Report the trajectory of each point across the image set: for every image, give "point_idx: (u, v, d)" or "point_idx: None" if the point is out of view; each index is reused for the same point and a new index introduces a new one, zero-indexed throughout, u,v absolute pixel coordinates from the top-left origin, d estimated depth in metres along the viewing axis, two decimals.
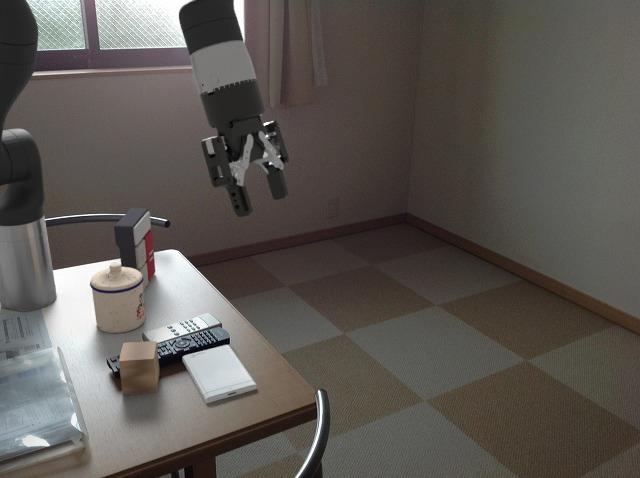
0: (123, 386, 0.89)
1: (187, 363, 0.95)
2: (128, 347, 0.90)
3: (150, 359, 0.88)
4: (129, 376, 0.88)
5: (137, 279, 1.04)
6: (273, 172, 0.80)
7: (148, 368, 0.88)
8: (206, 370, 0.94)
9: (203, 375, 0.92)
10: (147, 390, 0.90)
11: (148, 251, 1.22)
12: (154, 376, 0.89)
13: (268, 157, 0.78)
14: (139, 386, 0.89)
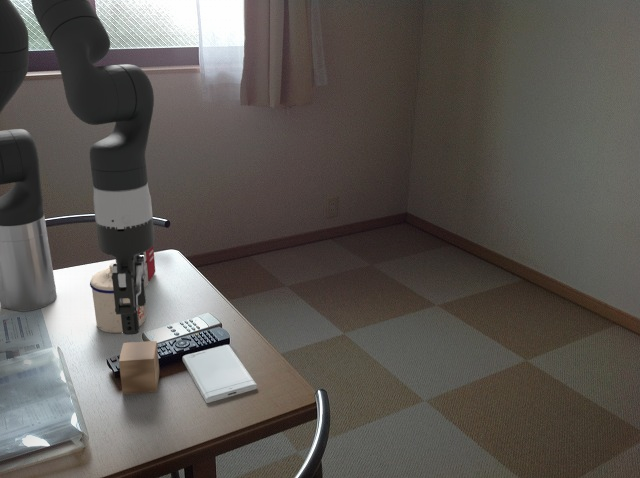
0: (123, 386, 0.89)
1: (187, 363, 0.96)
2: (128, 347, 0.90)
3: (150, 359, 0.88)
4: (129, 376, 0.88)
5: None
6: None
7: (148, 368, 0.88)
8: (207, 370, 0.94)
9: (203, 374, 0.93)
10: (147, 390, 0.90)
11: (148, 251, 1.22)
12: (154, 376, 0.89)
13: None
14: (139, 386, 0.89)
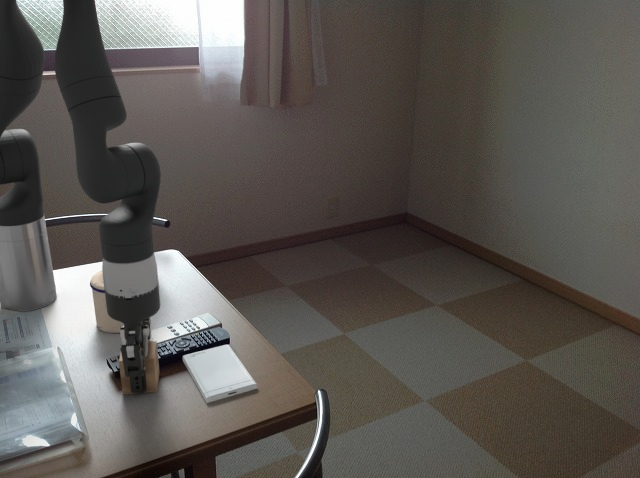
0: (123, 386, 0.89)
1: (187, 363, 0.96)
2: None
3: (150, 359, 0.88)
4: (129, 376, 0.88)
5: None
6: None
7: (148, 368, 0.88)
8: (207, 370, 0.94)
9: (203, 374, 0.93)
10: (147, 390, 0.90)
11: None
12: (154, 376, 0.89)
13: None
14: None
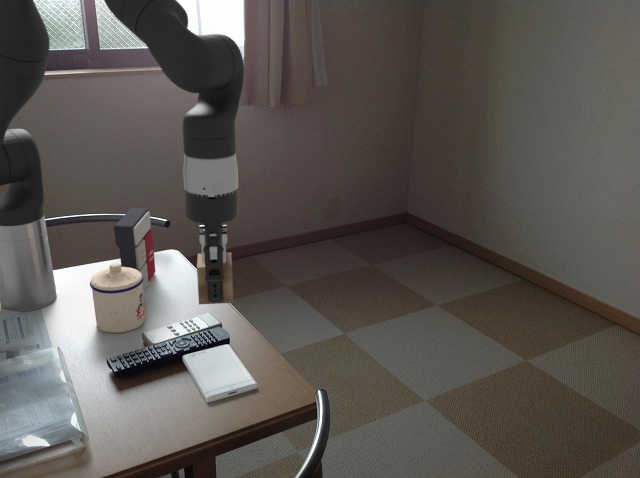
0: (200, 295, 0.86)
1: (187, 362, 0.96)
2: None
3: (229, 266, 0.85)
4: (206, 285, 0.86)
5: (137, 279, 1.04)
6: None
7: (226, 276, 0.86)
8: (207, 369, 0.94)
9: (203, 374, 0.93)
10: (223, 301, 0.87)
11: (148, 251, 1.22)
12: (231, 285, 0.86)
13: None
14: None
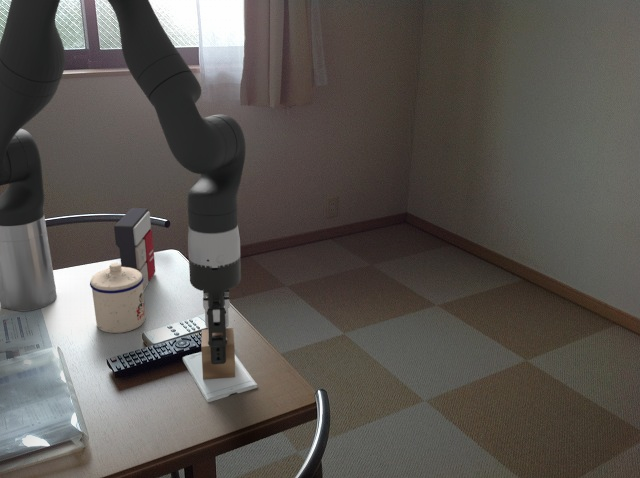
0: (204, 371, 0.91)
1: (187, 364, 0.96)
2: (207, 333, 0.93)
3: (231, 345, 0.90)
4: (210, 362, 0.91)
5: (137, 279, 1.04)
6: None
7: (228, 354, 0.91)
8: None
9: None
10: (226, 376, 0.92)
11: (148, 251, 1.22)
12: (233, 362, 0.92)
13: None
14: (219, 371, 0.92)
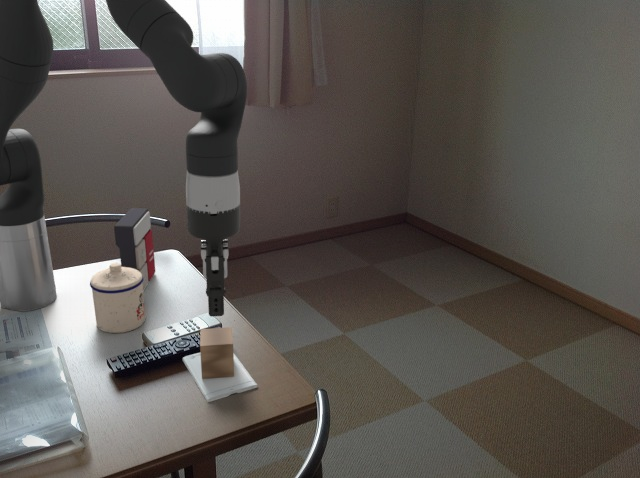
0: (203, 370, 0.91)
1: (187, 364, 0.96)
2: (206, 333, 0.93)
3: (230, 344, 0.91)
4: (209, 361, 0.91)
5: (137, 279, 1.04)
6: None
7: (227, 353, 0.91)
8: None
9: None
10: (225, 375, 0.92)
11: (148, 251, 1.22)
12: (232, 361, 0.92)
13: None
14: (218, 371, 0.92)
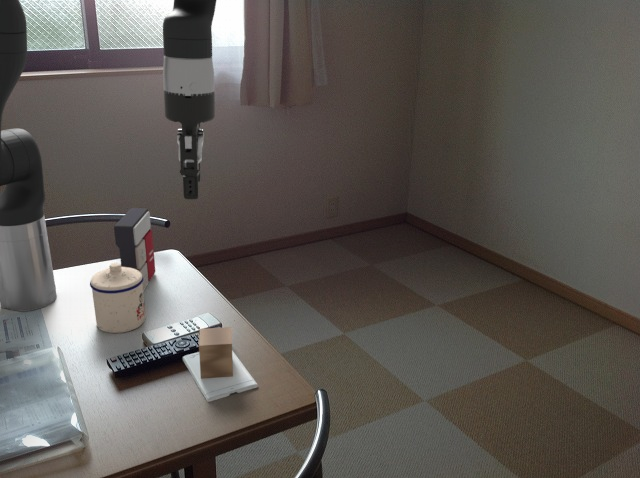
0: (201, 370, 0.91)
1: (188, 363, 0.96)
2: (205, 332, 0.93)
3: (229, 344, 0.90)
4: (208, 361, 0.91)
5: (137, 279, 1.04)
6: None
7: (226, 353, 0.91)
8: None
9: None
10: (224, 375, 0.92)
11: (148, 251, 1.22)
12: (231, 361, 0.92)
13: None
14: (216, 370, 0.92)
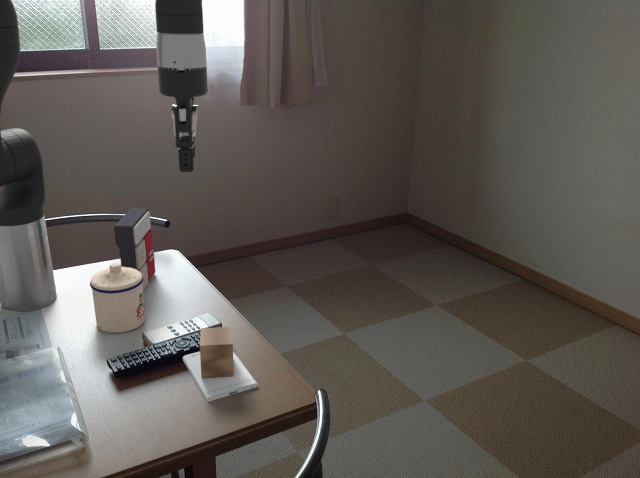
0: (202, 370, 0.91)
1: (187, 363, 0.96)
2: (206, 332, 0.93)
3: (230, 344, 0.90)
4: (209, 361, 0.91)
5: (137, 279, 1.04)
6: (188, 136, 1.00)
7: (227, 353, 0.91)
8: None
9: None
10: (224, 375, 0.92)
11: (148, 251, 1.22)
12: (232, 361, 0.92)
13: None
14: (217, 370, 0.92)
